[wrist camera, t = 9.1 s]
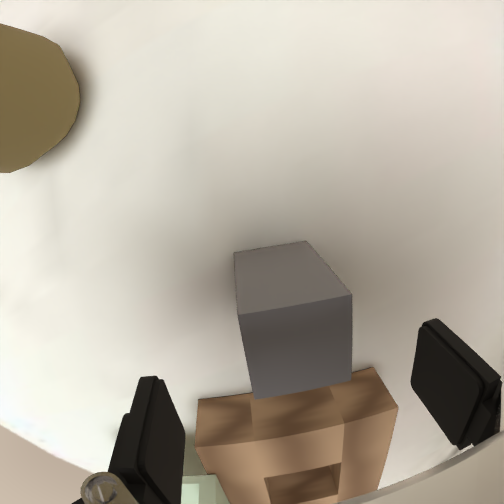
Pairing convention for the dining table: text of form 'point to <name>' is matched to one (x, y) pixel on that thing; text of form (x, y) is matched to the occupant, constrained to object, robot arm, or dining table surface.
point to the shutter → (202, 490)
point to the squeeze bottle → (33, 97)
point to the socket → (298, 442)
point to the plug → (292, 320)
